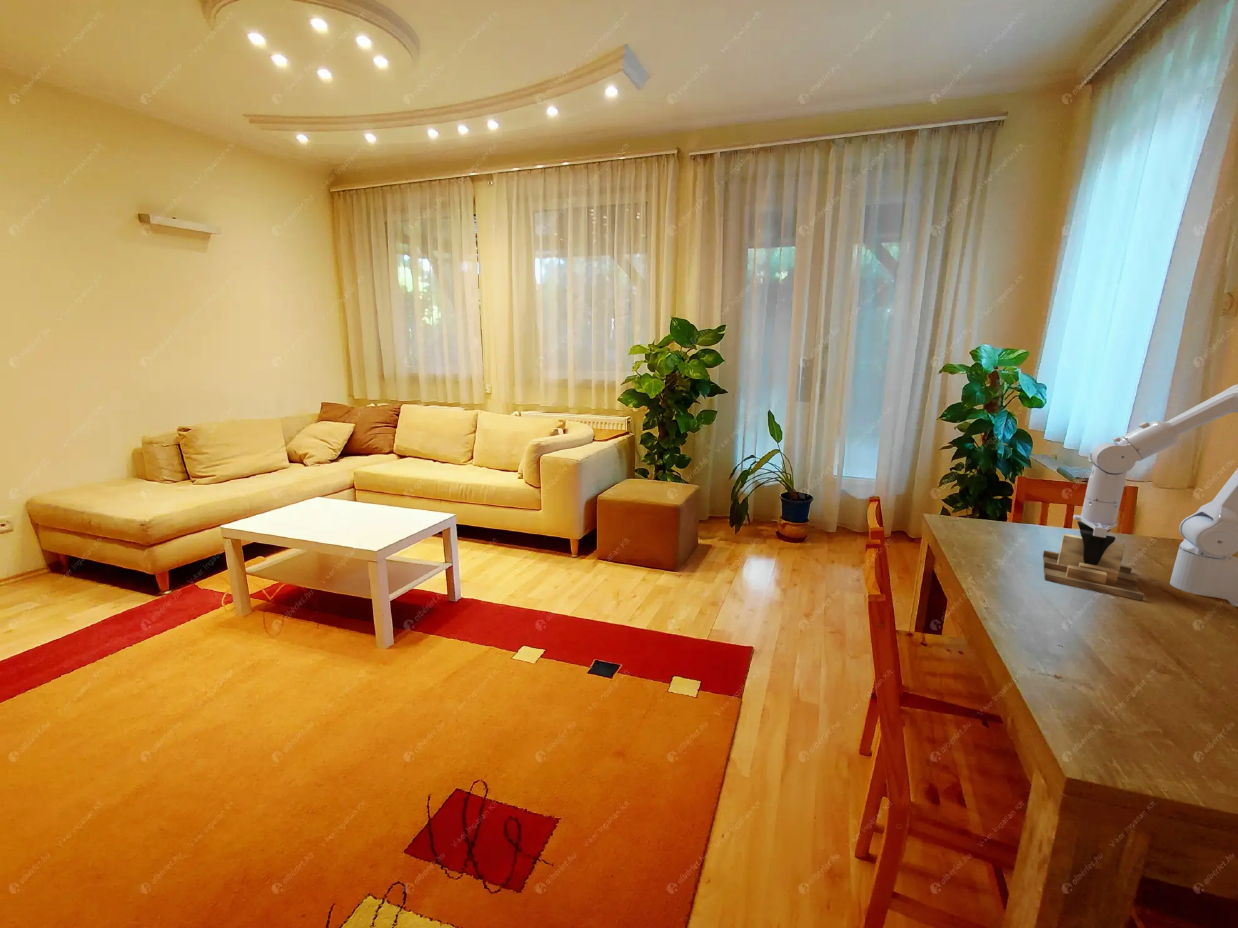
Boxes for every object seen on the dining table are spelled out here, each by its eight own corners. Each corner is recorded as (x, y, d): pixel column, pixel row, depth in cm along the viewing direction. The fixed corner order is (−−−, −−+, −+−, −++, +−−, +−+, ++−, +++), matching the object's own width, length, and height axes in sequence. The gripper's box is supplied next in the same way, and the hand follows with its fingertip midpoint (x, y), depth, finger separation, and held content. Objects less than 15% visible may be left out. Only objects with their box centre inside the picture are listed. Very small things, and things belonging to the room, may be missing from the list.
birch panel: (1116, 574, 116) (1123, 543, 114) (1117, 577, 114) (1125, 546, 113) (1057, 562, 122) (1063, 533, 120) (1057, 565, 120) (1064, 535, 118)
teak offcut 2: (1114, 583, 111) (1117, 569, 111) (1115, 586, 110) (1118, 572, 109) (1076, 575, 115) (1079, 562, 114) (1077, 578, 113) (1080, 565, 112)
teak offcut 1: (1102, 585, 110) (1106, 572, 109) (1103, 589, 108) (1107, 575, 108) (1065, 577, 113) (1068, 564, 113) (1065, 581, 112) (1068, 567, 111)
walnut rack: (1129, 575, 117) (1131, 566, 117) (1141, 604, 104) (1144, 594, 103) (1042, 558, 126) (1044, 550, 125) (1043, 582, 113) (1045, 574, 112)
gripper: (1075, 489, 122) (1063, 545, 125) (1080, 503, 111) (1067, 565, 114) (1117, 494, 118) (1103, 552, 121) (1126, 510, 107) (1111, 573, 110)
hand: (1088, 559), depth 117 cm, fingers open, 6 cm apart
